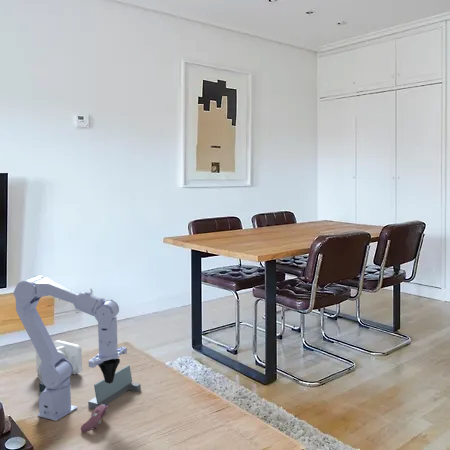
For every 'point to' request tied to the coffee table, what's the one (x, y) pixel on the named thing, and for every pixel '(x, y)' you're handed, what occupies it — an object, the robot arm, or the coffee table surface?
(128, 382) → the panel
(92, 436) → the coffee table surface
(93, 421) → the video game controller
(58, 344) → the cable organizer
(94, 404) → the rail
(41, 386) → the watch
